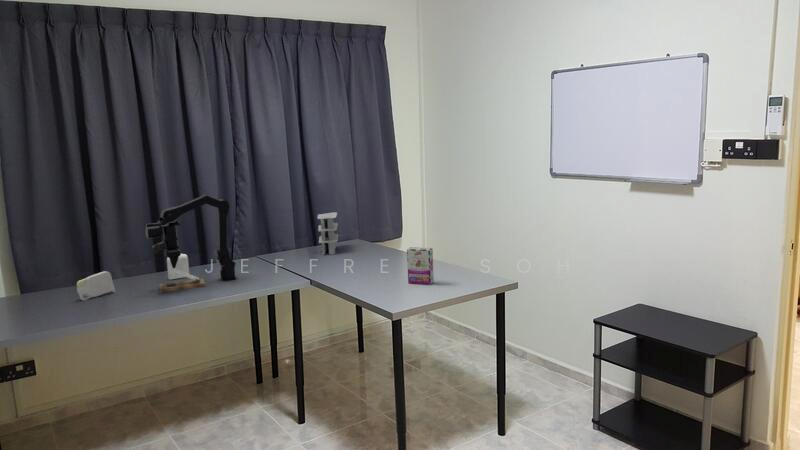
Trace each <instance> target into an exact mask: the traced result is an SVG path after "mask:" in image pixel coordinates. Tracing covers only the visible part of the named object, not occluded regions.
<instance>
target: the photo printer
mask: <svg viewBox="0 0 800 450" xmlns="http://www.w3.org/2000/svg"><path fill="white" fill-rule="evenodd" d="M166 266H167V277H168V280H170V281H171V280H177V279H185V278H186V277H185V276H182V275H179V274H177V273H174V272H171V271H169V268H170V267H172V264H171V261H170V258H168V257H166ZM189 266H190V264H189V258H188V255H187V254H185V253H181V256H179V258H178V261H177V264H176V267H175V269H177V270H180V271H183V272H185V273H188V274H190V268H189ZM172 268H173V267H172Z"/></svg>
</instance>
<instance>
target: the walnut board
mask: <svg viewBox="0 0 800 450" xmlns="http://www.w3.org/2000/svg"><path fill="white" fill-rule="evenodd" d="M202 287H206V282H205V280H204V279H203V278H199V279H196V281H195V280H193V279H189V280H182V281H175V282H174V281H173V282H168V283H160V284H159V292H160V293H166V292H175V291H181V290H182V291H183V290H189V289H197V288H202Z"/></svg>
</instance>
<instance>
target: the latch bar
mask: <svg viewBox="0 0 800 450" xmlns="http://www.w3.org/2000/svg"><path fill="white" fill-rule="evenodd" d="M169 271H171V272H174V273H177V274H179V275H182V276H185V277H184V278H187V279H189V280H195V281H196V279H200V276H195V275H192V274H190V273H189V274H188V273H185V272H183V271H180V270H177V269H175V268H172V267H170V268H169Z"/></svg>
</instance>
